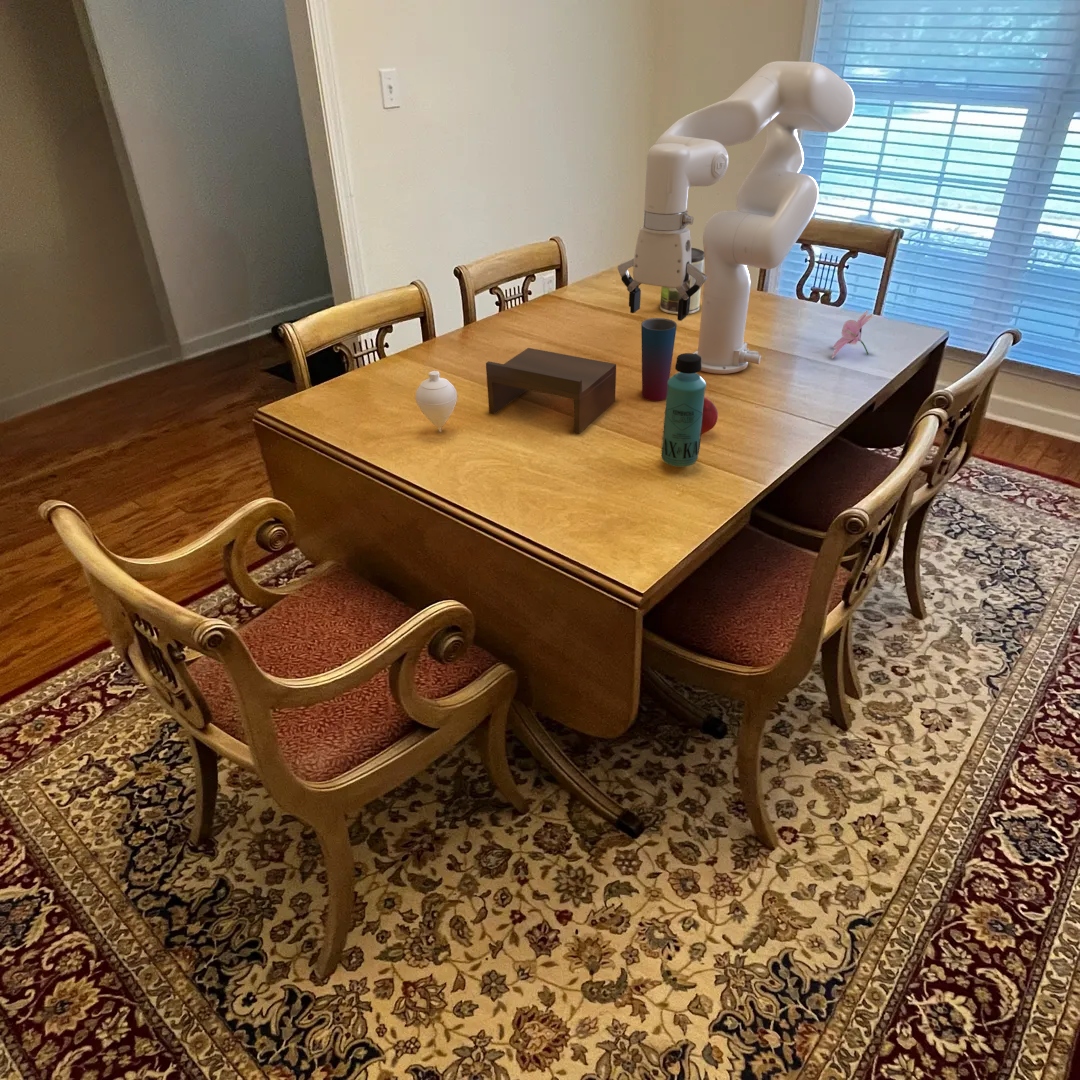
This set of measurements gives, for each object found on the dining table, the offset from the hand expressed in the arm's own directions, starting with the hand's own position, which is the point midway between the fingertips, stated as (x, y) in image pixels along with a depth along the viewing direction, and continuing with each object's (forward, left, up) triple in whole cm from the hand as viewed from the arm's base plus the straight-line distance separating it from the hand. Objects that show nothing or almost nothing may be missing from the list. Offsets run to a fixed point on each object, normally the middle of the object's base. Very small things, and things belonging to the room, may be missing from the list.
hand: (658, 314), depth 152 cm
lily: (-30, -40, -17) cm, 53 cm away
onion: (-14, +12, -17) cm, 25 cm away
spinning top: (+30, +33, -17) cm, 47 cm away
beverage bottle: (-15, +25, -17) cm, 34 cm away
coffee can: (+15, -53, -17) cm, 58 cm away
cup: (0, 0, -17) cm, 17 cm away
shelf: (+16, +14, -17) cm, 27 cm away
